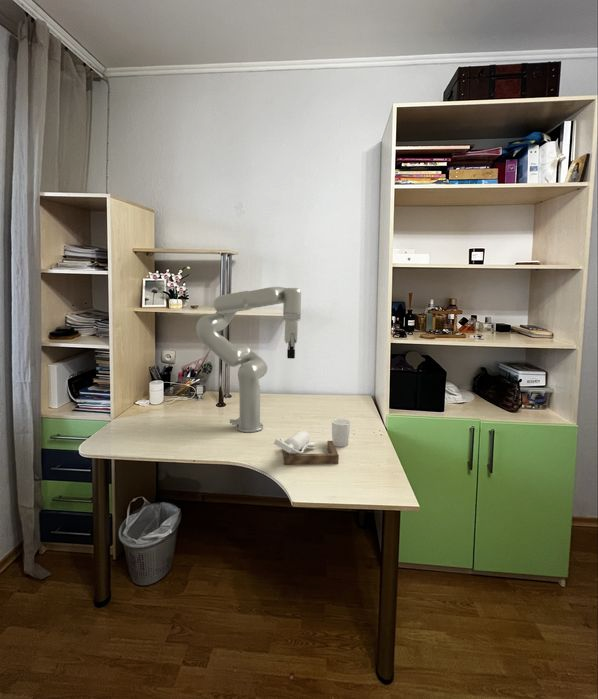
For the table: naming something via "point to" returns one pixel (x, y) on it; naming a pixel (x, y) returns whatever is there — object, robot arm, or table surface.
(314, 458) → the u rest
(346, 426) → the white cup
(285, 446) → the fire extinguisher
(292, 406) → the table surface
